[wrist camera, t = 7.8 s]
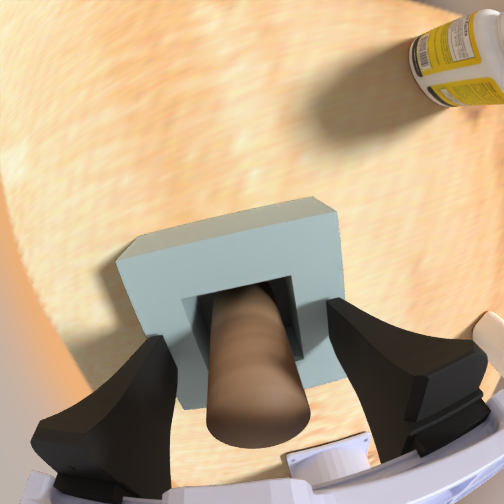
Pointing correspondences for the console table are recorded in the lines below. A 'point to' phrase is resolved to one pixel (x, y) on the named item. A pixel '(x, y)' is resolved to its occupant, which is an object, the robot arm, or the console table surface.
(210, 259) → the socket block
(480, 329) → the eye dropper bottle
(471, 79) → the supplement bottle
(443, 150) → the console table surface
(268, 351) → the pin
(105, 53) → the console table surface
